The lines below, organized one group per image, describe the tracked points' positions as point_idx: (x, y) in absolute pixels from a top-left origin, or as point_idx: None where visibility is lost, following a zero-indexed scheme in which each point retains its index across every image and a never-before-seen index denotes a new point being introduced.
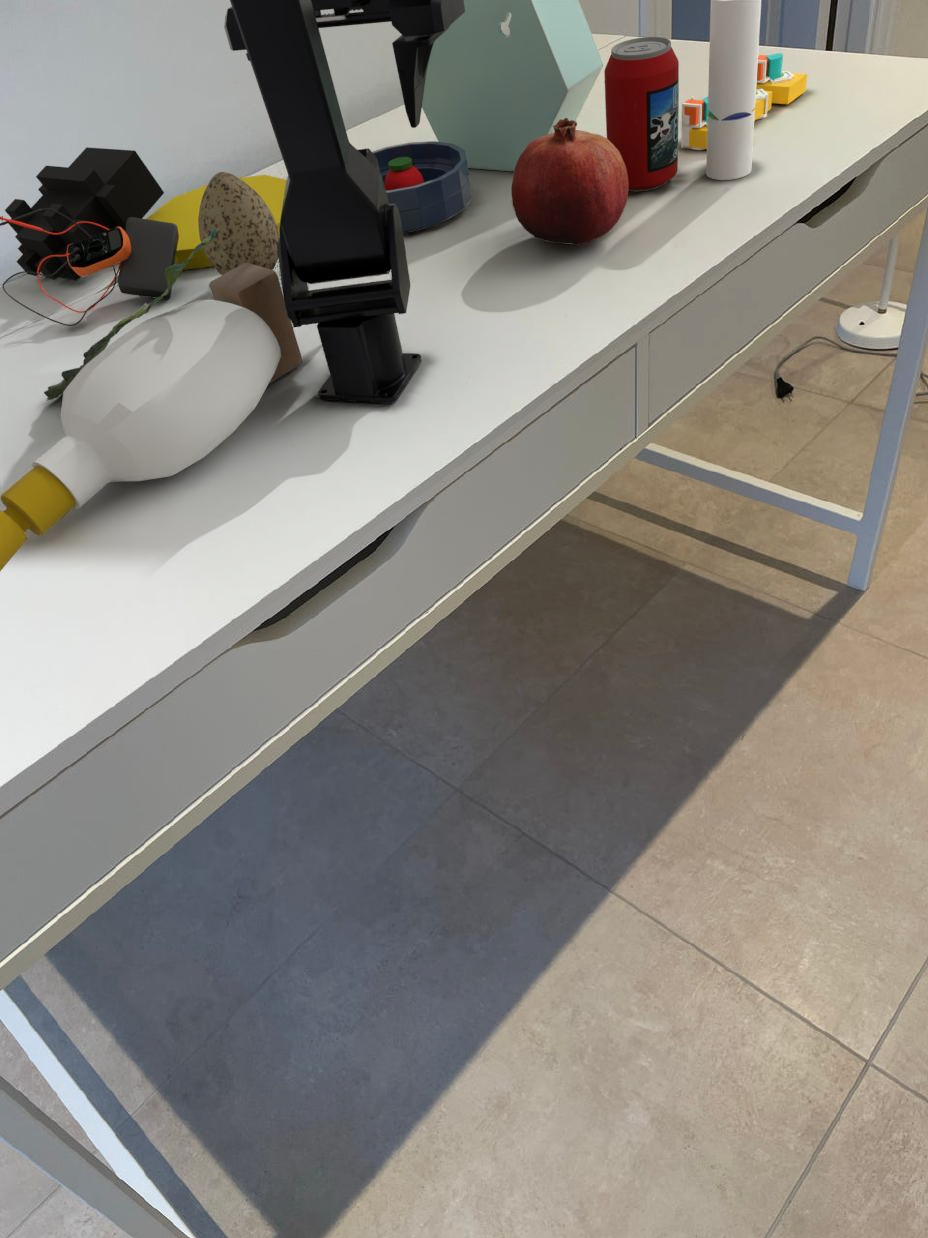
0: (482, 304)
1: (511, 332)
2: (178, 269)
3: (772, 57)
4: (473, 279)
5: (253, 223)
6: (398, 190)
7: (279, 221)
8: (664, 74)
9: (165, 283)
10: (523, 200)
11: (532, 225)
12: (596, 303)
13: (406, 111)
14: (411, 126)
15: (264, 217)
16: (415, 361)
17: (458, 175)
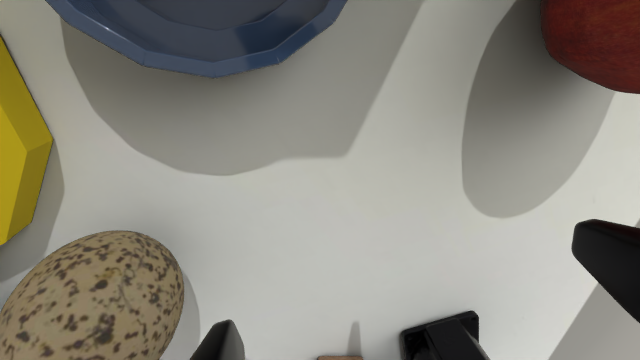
0: (498, 205)
1: (543, 242)
2: None
3: None
4: (467, 155)
5: (164, 344)
6: (299, 47)
7: (16, 135)
8: None
9: None
10: (609, 76)
11: (581, 76)
12: (623, 166)
13: (625, 308)
14: (577, 258)
15: (160, 320)
16: (477, 324)
17: None
